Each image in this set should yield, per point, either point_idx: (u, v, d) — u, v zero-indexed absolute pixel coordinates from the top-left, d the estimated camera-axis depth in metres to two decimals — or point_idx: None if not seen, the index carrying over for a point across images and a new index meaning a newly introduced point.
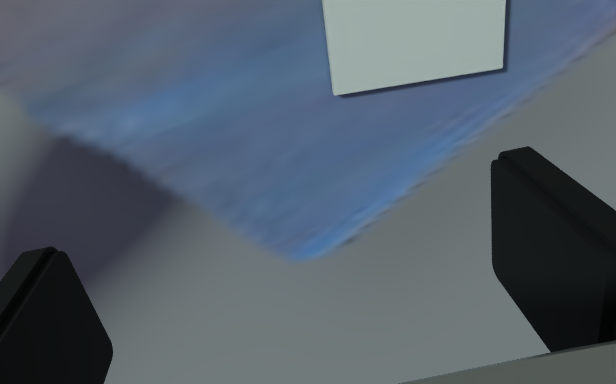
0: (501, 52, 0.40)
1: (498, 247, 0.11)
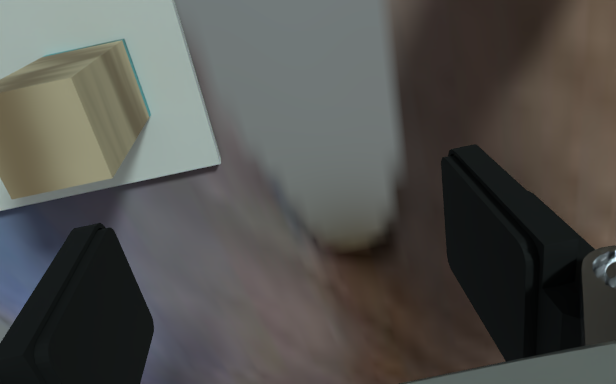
0: None
1: (450, 240, 0.11)
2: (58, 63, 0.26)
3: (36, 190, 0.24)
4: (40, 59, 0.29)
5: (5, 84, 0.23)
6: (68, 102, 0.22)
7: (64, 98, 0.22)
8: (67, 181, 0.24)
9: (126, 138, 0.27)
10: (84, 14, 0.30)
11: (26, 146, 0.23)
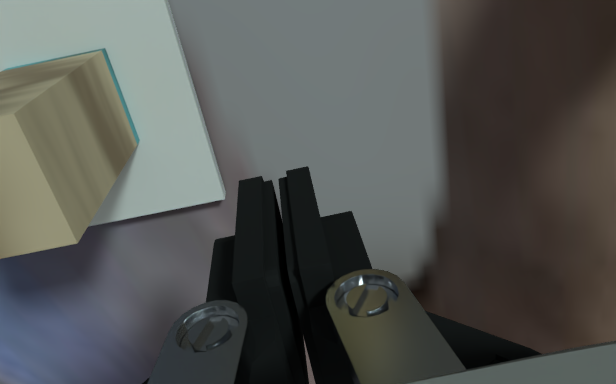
0: None
1: None
2: (13, 84, 0.20)
3: None
4: None
5: None
6: (12, 146, 0.16)
7: (6, 141, 0.16)
8: (17, 247, 0.18)
9: (102, 181, 0.21)
10: (54, 17, 0.23)
11: None
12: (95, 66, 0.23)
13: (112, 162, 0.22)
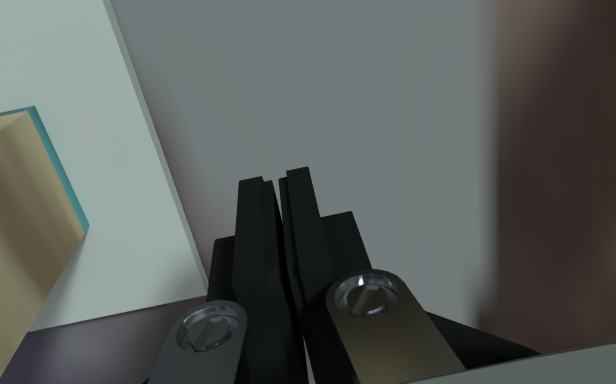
0: None
1: None
2: None
3: None
4: None
5: None
6: None
7: None
8: None
9: (15, 319, 0.14)
10: None
11: None
12: (13, 137, 0.16)
13: (37, 279, 0.15)
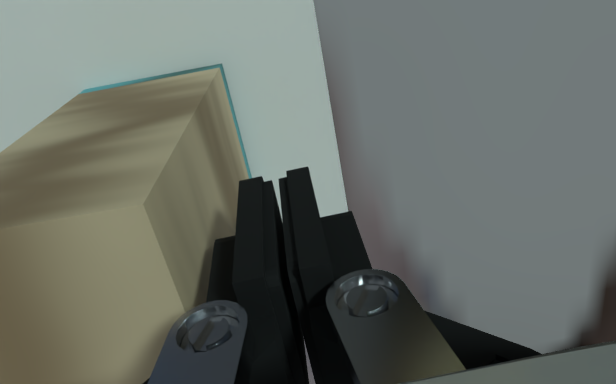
0: None
1: None
2: (108, 123, 0.13)
3: None
4: (75, 101, 0.16)
5: None
6: (134, 258, 0.09)
7: (123, 250, 0.09)
8: None
9: None
10: (156, 19, 0.17)
11: (32, 343, 0.10)
12: (216, 92, 0.15)
13: None
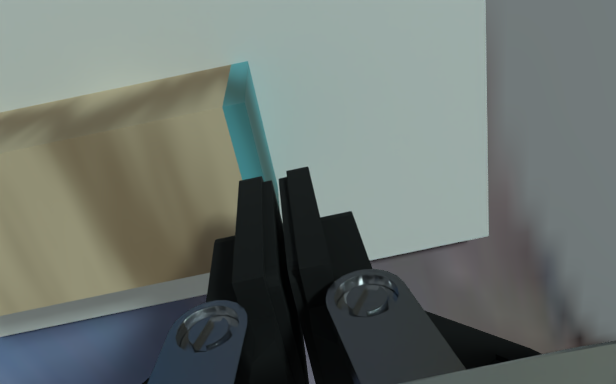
0: (26, 328, 0.22)
1: None
2: (91, 111, 0.15)
3: None
4: (204, 71, 0.17)
5: (7, 118, 0.16)
6: None
7: None
8: None
9: (80, 282, 0.15)
10: None
11: None
12: (171, 133, 0.13)
13: (134, 268, 0.15)
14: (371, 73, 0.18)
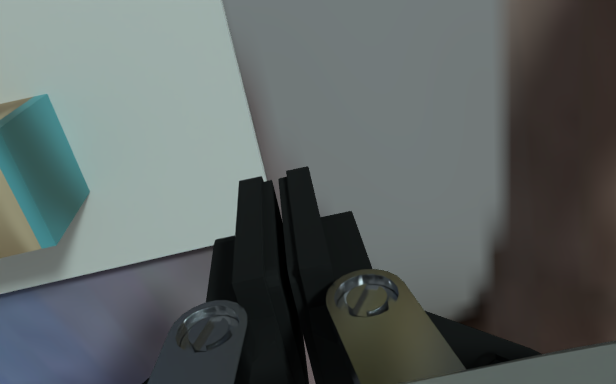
0: None
1: None
2: None
3: None
4: (10, 102, 0.22)
5: None
6: None
7: None
8: None
9: None
10: (103, 37, 0.21)
11: None
12: None
13: None
14: (151, 101, 0.23)
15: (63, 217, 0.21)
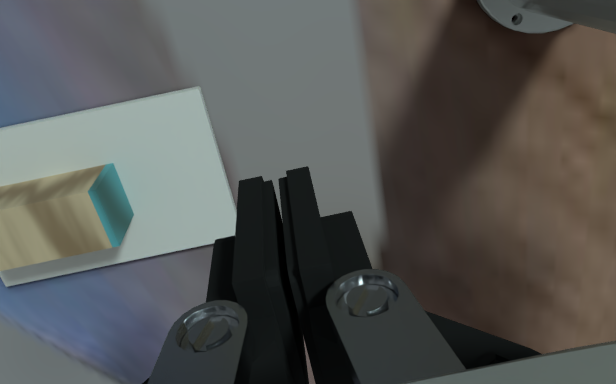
0: (19, 282, 0.45)
1: None
2: (43, 188, 0.38)
3: None
4: (93, 168, 0.40)
5: (10, 189, 0.39)
6: None
7: None
8: None
9: (39, 255, 0.38)
10: (144, 134, 0.40)
11: None
12: (69, 200, 0.36)
13: (60, 250, 0.38)
14: (168, 166, 0.41)
15: (122, 230, 0.39)
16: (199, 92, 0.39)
